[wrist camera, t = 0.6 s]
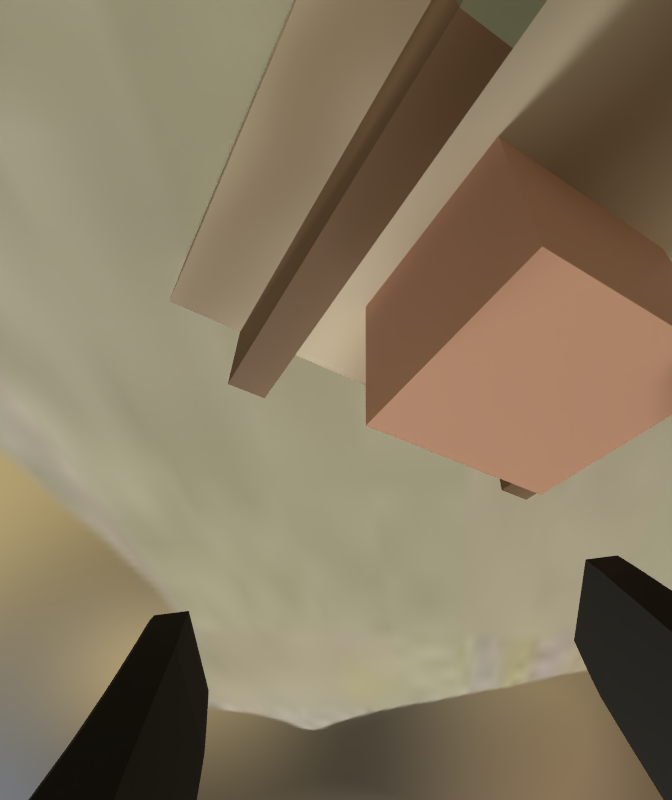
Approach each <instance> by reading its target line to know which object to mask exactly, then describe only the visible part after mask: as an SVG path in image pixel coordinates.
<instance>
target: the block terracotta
mask: <svg viewBox="0 0 672 800" xmlns="http://www.w3.org/2000/svg"><path fill="white" fill-rule="evenodd" d="M670 415H672V262H671V260H670V259H669V257H668V256H667V254H666V253H665V251H664V250H663V248H661V247H660V246H658V245H657V244H655V243H654V242H652V241H651V240H649V239H648V238H646V237H645V236H644V235H642V234H641V233H639V232H638V231H636V230H635V229H633V228H632V227H630V226H629V225H627V224H626V223H624V222H623V221H622V220H620V219H619V218H617V217H616V216H614V215H613V214H611V213H610V212H608V211H607V210H605V209H604V208H603V207H601V206H600V205H598V204H597V203H595V202H594V201H592V200H591V199H589V198H588V197H586V196H585V195H583V194H582V193H581V192H579V191H578V190H576V189H575V188H573V187H572V186H570V185H569V184H567V183H566V182H564V181H563V180H562V179H560V178H559V177H557V176H556V175H554V174H553V173H551V172H550V171H548V170H547V169H545V168H544V167H543V166H541V165H540V164H538V163H537V162H535V161H534V160H532V159H531V158H529V157H528V156H526V155H525V154H523V153H522V152H521V151H519V150H518V149H516V148H515V147H513V146H512V145H510V144H509V143H507V142H506V141H504V140H503V139H502V138H500V137H499V136H498V137H497V138H496V139H495V141H494V142H493V143H492V145H491V146H490V147H489V148H488V150H487V151H486V152H485V154H484V155H483V156H482V157H481V159H480V160H479V161H478V163H477V164H476V165H475V166H474V168H473V169H472V170H471V172H470V173H469V174H468V176H467V177H466V178H465V179H464V181H463V182H462V183H461V185H460V186H459V187H458V188H457V190H456V191H455V192H454V194H453V195H452V196H451V197H450V199H449V200H448V201H447V203H446V204H445V205H444V206H443V208H442V209H441V210H440V212H439V213H438V214H437V215H436V217H435V218H434V219H433V221H432V222H431V223H430V225H429V226H428V227H427V228H426V230H425V231H424V232H423V234H422V235H421V236H420V237H419V239H418V240H417V241H416V243H415V244H414V245H413V246H412V248H411V249H410V250H409V252H408V253H407V254H406V255H405V257H404V258H403V259H402V261H401V262H400V263H399V265H398V266H397V267H396V268H395V270H394V271H393V272H392V274H391V275H390V276H389V277H388V279H387V280H386V281H385V283H384V284H383V285H382V286H381V288H380V289H379V290H378V292H377V293H376V294H375V295H374V297H373V298H372V299H371V301H370V302H369V303H368V304H367V306H366V426H368V427H371V428H373V429H376V430H379V431H381V432H384V433H386V434H389V435H391V436H394V437H396V438H399V439H401V440H404V441H406V442H409V443H411V444H414V445H416V446H419V447H421V448H424V449H426V450H429V451H431V452H434V453H436V454H439V455H442V456H444V457H447V458H449V459H452V460H454V461H457V462H459V463H462V464H464V465H467V466H469V467H472V468H474V469H477V470H479V471H482V472H484V473H487V474H489V475H492V476H494V477H497V478H499V479H502V480H505V481H507V482H510V483H512V484H515V485H517V486H520V487H522V488H525V489H527V490H530V491H532V492H535V493H537V494H540V495H541V494H543V493H544V492H546V491H548V490H549V489H551V488H553V487H554V486H556V485H557V484H559V483H561V482H562V481H564V480H566V479H567V478H569V477H571V476H572V475H574V474H575V473H577V472H579V471H580V470H582V469H584V468H585V467H587V466H588V465H590V464H592V463H593V462H595V461H597V460H598V459H600V458H602V457H603V456H605V455H606V454H608V453H610V452H611V451H613V450H615V449H616V448H618V447H620V446H621V445H623V444H624V443H626V442H628V441H629V440H631V439H633V438H634V437H636V436H638V435H639V434H641V433H642V432H644V431H646V430H647V429H649V428H651V427H652V426H654V425H656V424H657V423H659V422H660V421H662V420H664V419H665V418H667V417H669V416H670Z"/></svg>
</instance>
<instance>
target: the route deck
mask: <svg viewBox="0 0 672 800" xmlns="http://www.w3.org/2000/svg"><path fill="white" fill-rule="evenodd" d="M498 136H499V137H500V138H502V139H503V140H504V141H506V142H507V143H509V144H510V145H512V146H513V147H515V148H516V149H518V150H519V151H521V152H522V153H523V154H525V155H526V156H528V157H529V158H531V159H532V160H534V161H535V162H537V163H538V164H540V165H541V166H543V167H544V168H545V169H547V170H548V171H550V172H551V173H553V174H554V175H556V176H557V177H559V178H560V179H562V180H563V181H564V182H566V183H567V184H569V185H570V186H572V187H573V188H575V189H576V190H578V191H579V192H581V193H582V194H583V195H585V196H586V197H588V198H589V199H591V200H592V201H594V202H595V203H597V204H598V205H600V206H601V207H603V208H604V209H605V210H607V211H608V212H610V213H611V214H613V215H614V216H616V217H617V218H619V219H620V220H622V221H623V222H624V223H626V224H627V225H629V226H630V227H632V228H633V229H635V230H636V231H638V232H639V233H641V234H642V235H644V236H645V237H646V238H648V239H649V240H651V241H652V242H654V243H655V244H657V245H658V246H660V247H661V248H663V250H664V251H665V253H666V254H667V256H668V257H669V259H670V260H671V262H672V0H294V2H293V4H292V7H291V9H290V12H289V14H288V16H287V19H286V21H285V24H284V26H283V28H282V31H281V33H280V35H279V38H278V40H277V43H276V45H275V47H274V50H273V52H272V55H271V57H270V59H269V62H268V64H267V66H266V69H265V71H264V74H263V76H262V78H261V81H260V83H259V86H258V88H257V90H256V93H255V95H254V98H253V100H252V102H251V105H250V107H249V109H248V112H247V114H246V117H245V119H244V121H243V124H242V126H241V129H240V131H239V133H238V136H237V138H236V140H235V143H234V145H233V148H232V150H231V152H230V155H229V157H228V160H227V162H226V164H225V167H224V169H223V171H222V174H221V176H220V179H219V181H218V183H217V186H216V188H215V191H214V193H213V195H212V198H211V200H210V203H209V205H208V207H207V210H206V212H205V214H204V217H203V219H202V222H201V224H200V226H199V229H198V231H197V234H196V236H195V238H194V241H193V243H192V245H191V248H190V250H189V253H188V255H187V257H186V260H185V262H184V265H183V268H182V270H181V273H180V275H179V278H178V280H177V283H176V286H175V288H174V291H173V293H172V296H171V298H170V302H173V303H175V304H177V305H180V306H182V307H184V308H187V309H189V310H191V311H194V312H196V313H198V314H201V315H203V316H205V317H208V318H210V319H212V320H215V321H217V322H219V323H222V324H224V325H226V326H229V327H231V328H233V329H236V330H238V331H240V335H239V339H238V343H237V348H236V352H235V356H234V361H233V365H232V369H231V373H230V378H229V382H228V384H230V385H232V386H235V387H237V388H240V389H243V390H245V391H248V392H250V393H253V394H255V395H258V396H261V397H263V398H265V397H266V395H267V394H268V393H269V391H270V390H271V388H272V387H273V385H274V384H275V383H276V381H277V380H278V378H279V377H280V376H281V374H282V373H283V371H284V370H285V369H286V367H287V366H288V364H289V363H290V362H291V360H292V359H293V357H294V356H295V355H297V356H299V357H301V358H304V359H306V360H308V361H311V362H313V363H315V364H318V365H320V366H322V367H325V368H327V369H329V370H332V371H334V372H336V373H339V374H341V375H344V376H346V377H348V378H351V379H353V380H355V381H358V382H360V383H362V384H365V385H366V306H367V304H368V303H369V302H370V301H371V299H372V298H373V297H374V295H375V294H376V293H377V292H378V290H379V289H380V288H381V286H382V285H383V284H384V283H385V281H386V280H387V279H388V277H389V276H390V275H391V274H392V272H393V271H394V270H395V268H396V267H397V266H398V265H399V263H400V262H401V261H402V259H403V258H404V257H405V255H406V254H407V253H408V252H409V250H410V249H411V248H412V246H413V245H414V244H415V243H416V241H417V240H418V239H419V237H420V236H421V235H422V234H423V232H424V231H425V230H426V228H427V227H428V226H429V225H430V223H431V222H432V221H433V219H434V218H435V217H436V215H437V214H438V213H439V212H440V210H441V209H442V208H443V206H444V205H445V204H446V203H447V201H448V200H449V199H450V197H451V196H452V195H453V194H454V192H455V191H456V190H457V188H458V187H459V186H460V185H461V183H462V182H463V181H464V179H465V178H466V177H467V176H468V174H469V173H470V172H471V170H472V169H473V168H474V166H475V165H476V164H477V163H478V161H479V160H480V159H481V157H482V156H483V155H484V154H485V152H486V151H487V150H488V148H489V147H490V146H491V145H492V143H493V142H494V141H495V139H496V138H497V137H498ZM500 482H501V487H502V490H503V491H506V492H508V493H511V494H513V495H516V496H518V497H521V498H524V499H528V498H530V497H531V496H533V495H534V494H536V493H535V492H532V491H530V490H527V489H525V488H522V487H520V486H517V485H515V484H512V483H510V482H507V481H505V480H502V479H500Z"/></svg>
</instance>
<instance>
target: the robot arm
mask: <svg viewBox="0 0 672 800" xmlns="http://www.w3.org/2000/svg"><path fill="white" fill-rule="evenodd" d="M574 641H575V643H576V645H577V648H578V650H579V652H580V654H581V656H582V659H583V661H584V663H585V665H586V667H587V670H588V672H589V674H590V675H591V678H592V680H593V682H594V684H595V686H596V688H597V690H598V692H599V694H600V696H601V698H602V700H603V701H604V703H605V705H606V706H607V708H608V710H609V711H610V713H611V715H612V716H613V718H614V720H615V721H616V723H617V725H618V726H619V728H620V730H621V731H622V733H623V734H624V736H625V738H626V739H627V741H628V743H629V744H630V746H631V748H632V749H633V751H634V752H635V754H636V755H637V757H638V759H639V760H640V762H641V764H642V765H643V767H644V769H645V770H646V772H647V773H648V775H649V777H650V778H651V780H652V781H653V783H654V785H655V786H656V788H657V790H658V791H659V793H660V794H661V796H662V798H663V799H664V800H672V591H671V590H670V589H668V588H667V587H665V586H664V585H662V584H661V583H659V582H658V581H656V580H655V579H653V578H652V577H650V576H649V575H647V574H646V573H644V572H643V571H641V570H640V569H638V568H636V567H635V566H633V565H632V564H630V563H629V562H627V561H625V560H624V559H622V558H621V557H619V556H610V557H603V558H595V559H587V560H586V562H585V569H584V576H583V583H582V590H581V597H580V603H579V610H578V617H577V624H576V631H575V638H574ZM207 708H208V687H207V683H206V679H205V675H204V671H203V667H202V663H201V659H200V655H199V651H198V647H197V643H196V639H195V635H194V630H193V626H192V622H191V618H190V614H189V611H185V612H178V613H170V614H163V615H155V616H153V618H152V619H151V620H150V621H149V623H148V624H147V626H146V627H145V629H144V631H143V632H142V634H141V635H140V637H139V639H138V641H137V642H136V644H135V645H134V647H133V649H132V650H131V652H130V653H129V655H128V656H127V658H126V660H125V661H124V663H123V664H122V666H121V668H120V669H119V671H118V673H117V674H116V675H115V677H114V679H113V680H112V682H111V683H110V685H109V686H108V688H107V690H106V691H105V693H104V694H103V696H102V697H101V698H100V700H99V702H98V703H97V705H96V706H95V707H94V709H93V710H92V712H91V713H90V715H89V716H88V718H87V719H86V721H85V722H84V724H83V725H82V727H81V728H80V730H79V731H78V733H77V734H76V735H75V737H74V738H73V740H72V741H71V743H70V744H69V745H68V747H67V748H66V750H65V751H64V752H63V754H62V755H61V757H60V758H59V759H58V761H57V762H56V763H55V765H54V766H53V767H52V769H51V770H50V771H49V773H48V774H47V775H46V777H45V778H44V780H43V781H42V782H41V784H40V785H39V786H38V788H37V789H36V790H35V792H34V793H33V795H32V796H31V797H30V799H29V800H197V794H198V789H199V782H200V777H201V770H202V765H203V758H204V750H205V738H206V724H207Z"/></svg>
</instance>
